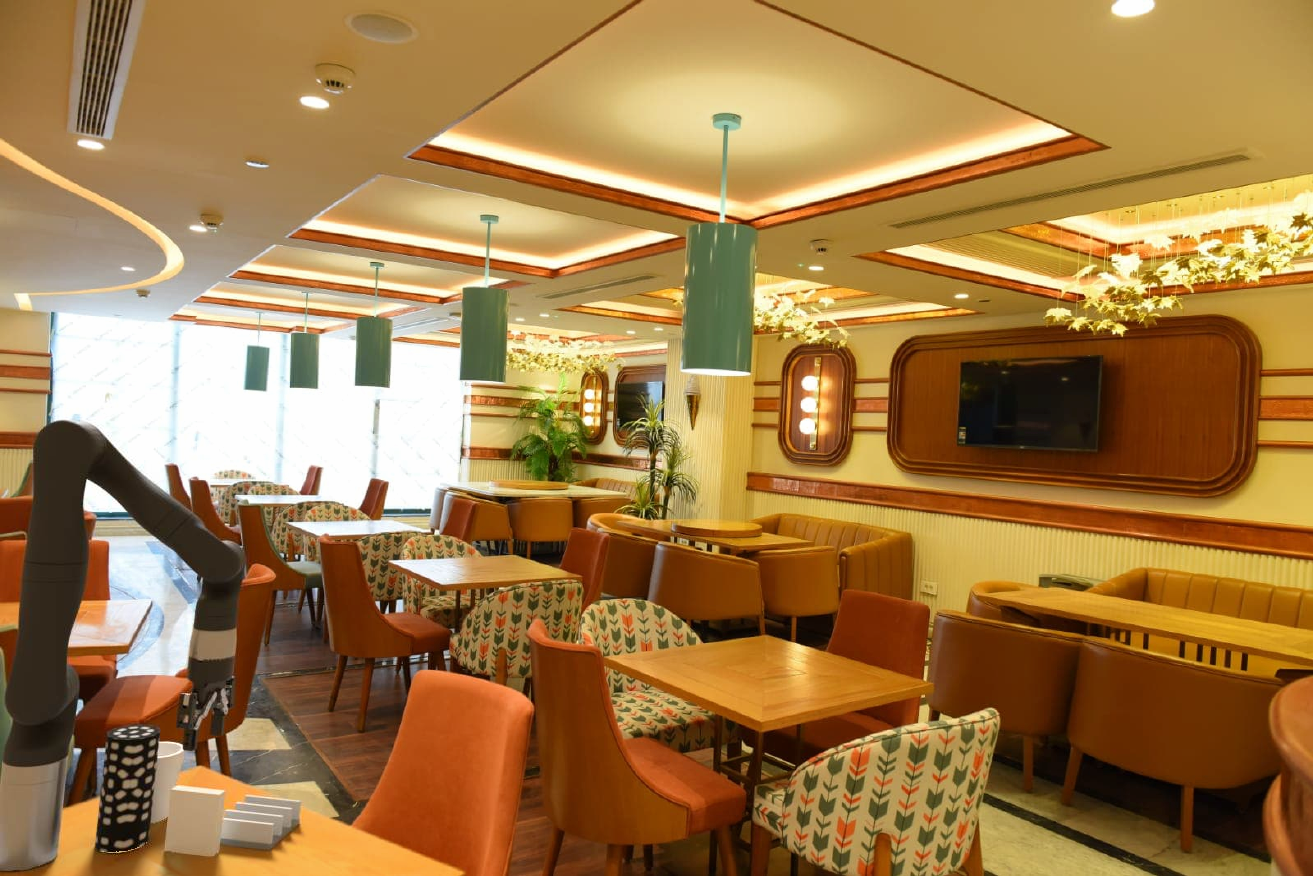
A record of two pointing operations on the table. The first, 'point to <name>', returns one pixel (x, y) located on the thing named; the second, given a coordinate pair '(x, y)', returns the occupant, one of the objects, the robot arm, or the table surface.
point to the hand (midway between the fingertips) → (203, 742)
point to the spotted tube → (127, 788)
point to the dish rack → (259, 822)
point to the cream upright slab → (194, 820)
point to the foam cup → (166, 777)
